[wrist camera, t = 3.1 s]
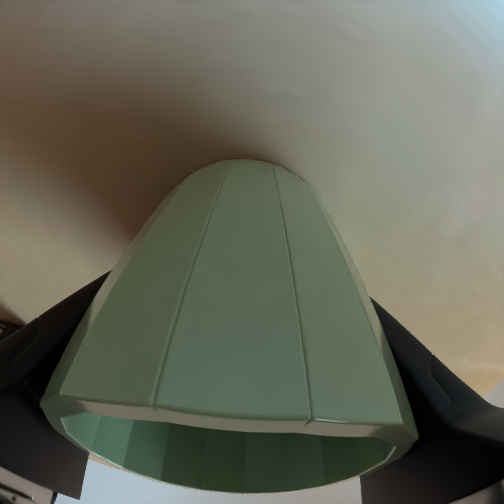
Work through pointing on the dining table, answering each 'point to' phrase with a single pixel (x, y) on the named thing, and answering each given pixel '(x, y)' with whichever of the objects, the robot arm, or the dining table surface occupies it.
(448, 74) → the dining table surface
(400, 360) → the robot arm
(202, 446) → the cup
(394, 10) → the dining table surface
